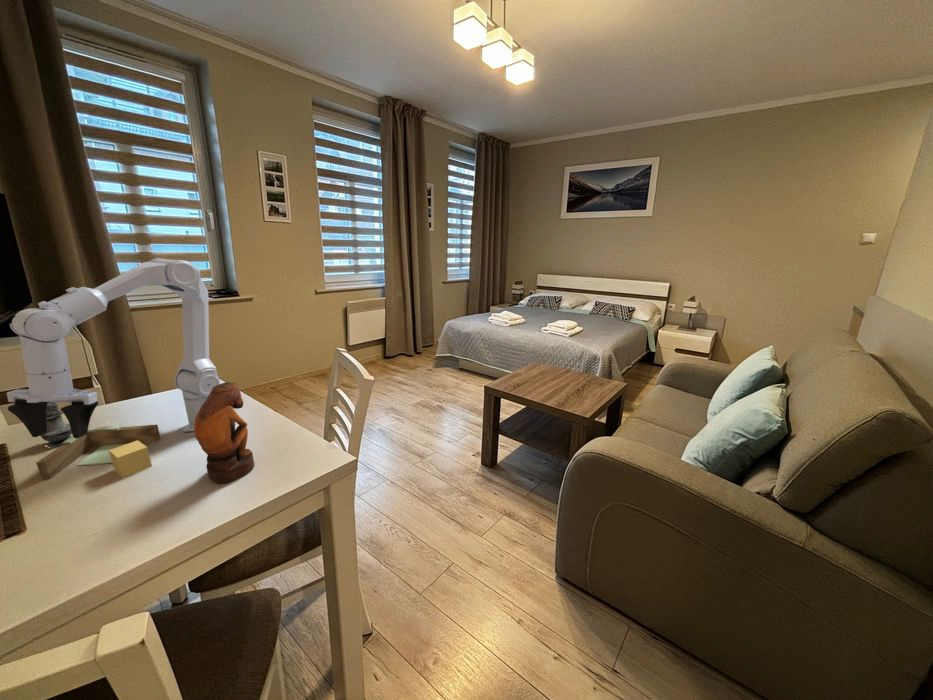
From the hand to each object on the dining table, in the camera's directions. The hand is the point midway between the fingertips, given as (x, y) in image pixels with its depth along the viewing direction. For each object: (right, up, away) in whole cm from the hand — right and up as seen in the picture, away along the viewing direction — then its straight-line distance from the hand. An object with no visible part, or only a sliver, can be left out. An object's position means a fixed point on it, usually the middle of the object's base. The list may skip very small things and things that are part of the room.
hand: (60, 435), depth 74 cm
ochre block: (+8, -9, +7) cm, 14 cm away
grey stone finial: (-18, -6, +16) cm, 24 cm away
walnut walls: (-1, -7, +11) cm, 13 cm away
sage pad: (-1, -7, +12) cm, 14 cm away
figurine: (+30, -10, +7) cm, 32 cm away
